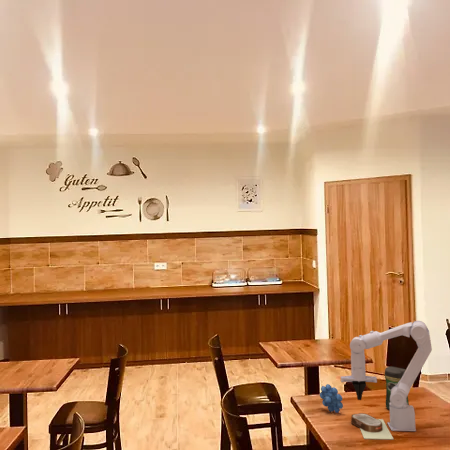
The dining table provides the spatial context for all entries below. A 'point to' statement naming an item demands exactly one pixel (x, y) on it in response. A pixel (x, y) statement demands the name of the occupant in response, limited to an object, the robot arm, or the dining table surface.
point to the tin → (366, 422)
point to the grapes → (331, 398)
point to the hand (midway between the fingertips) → (359, 399)
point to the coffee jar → (392, 381)
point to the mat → (378, 433)
